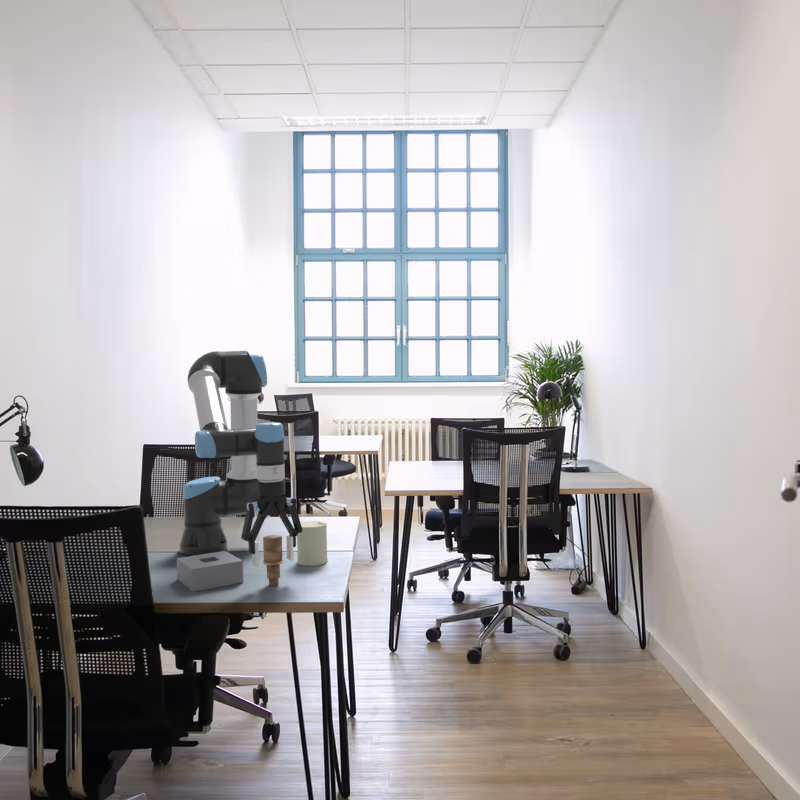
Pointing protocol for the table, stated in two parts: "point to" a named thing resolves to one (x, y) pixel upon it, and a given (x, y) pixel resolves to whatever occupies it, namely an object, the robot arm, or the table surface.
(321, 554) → the can
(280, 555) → the walnut peg
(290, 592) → the table surface
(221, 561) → the socket block
